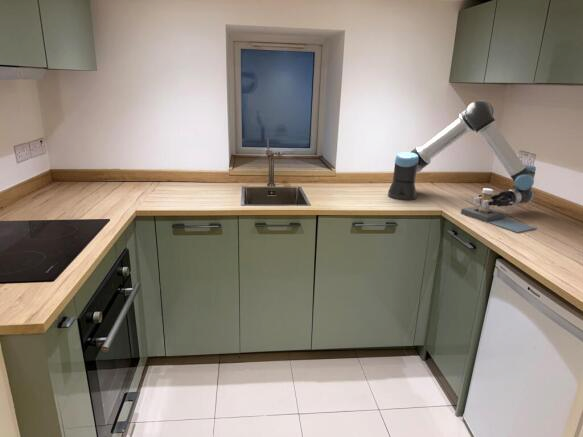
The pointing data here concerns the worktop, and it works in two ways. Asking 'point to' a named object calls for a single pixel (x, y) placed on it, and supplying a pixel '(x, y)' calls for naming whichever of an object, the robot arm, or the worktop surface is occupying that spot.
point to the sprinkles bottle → (485, 196)
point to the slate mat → (512, 225)
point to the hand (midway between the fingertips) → (478, 202)
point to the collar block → (488, 217)
